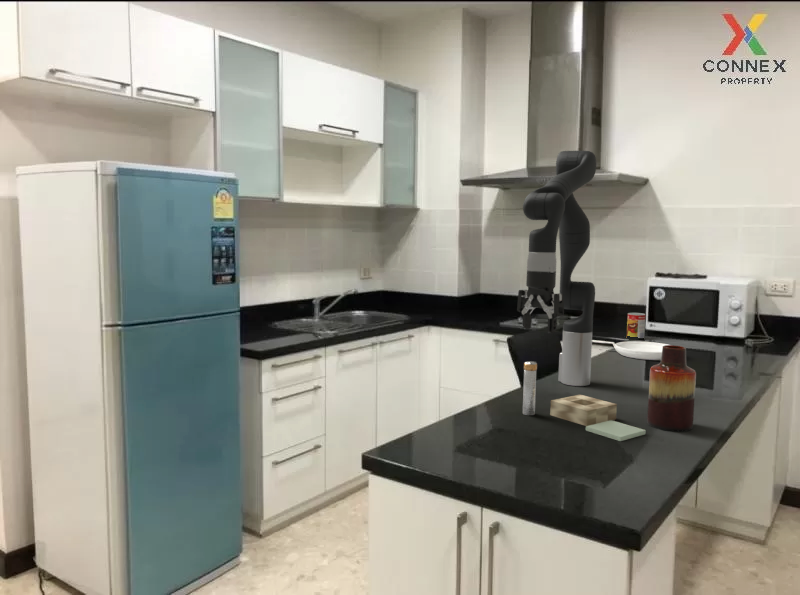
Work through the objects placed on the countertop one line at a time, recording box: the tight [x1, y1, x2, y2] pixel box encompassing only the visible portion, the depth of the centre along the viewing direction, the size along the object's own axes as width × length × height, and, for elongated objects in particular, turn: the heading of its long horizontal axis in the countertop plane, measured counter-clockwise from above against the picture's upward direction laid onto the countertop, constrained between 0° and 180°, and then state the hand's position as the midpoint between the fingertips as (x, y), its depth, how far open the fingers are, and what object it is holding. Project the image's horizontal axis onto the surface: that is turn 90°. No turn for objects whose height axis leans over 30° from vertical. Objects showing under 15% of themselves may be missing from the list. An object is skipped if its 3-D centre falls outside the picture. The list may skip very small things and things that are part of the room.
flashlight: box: [522, 360, 538, 416], centre depth 172 cm, size 3×3×14 cm
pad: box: [585, 420, 646, 442], centre depth 158 cm, size 10×10×1 cm
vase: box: [646, 344, 697, 432], centre depth 164 cm, size 11×11×20 cm
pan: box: [592, 339, 669, 361], centre depth 264 cm, size 25×39×4 cm, turn 60°
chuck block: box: [549, 394, 618, 427], centre depth 171 cm, size 12×12×4 cm
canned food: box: [626, 312, 647, 339], centre depth 303 cm, size 8×8×12 cm
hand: (538, 330), depth 170 cm, fingers open, 8 cm apart
